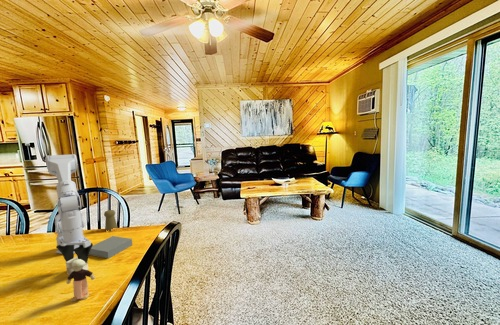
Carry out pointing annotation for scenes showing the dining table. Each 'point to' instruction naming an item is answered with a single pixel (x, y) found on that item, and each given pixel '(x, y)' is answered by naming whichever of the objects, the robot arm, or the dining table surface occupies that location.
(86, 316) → the dining table surface
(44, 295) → the dining table surface
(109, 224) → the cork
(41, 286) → the dining table surface
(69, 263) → the cream cube
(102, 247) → the base plinth
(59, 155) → the robot arm
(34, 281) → the dining table surface
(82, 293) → the grandmother figurine
